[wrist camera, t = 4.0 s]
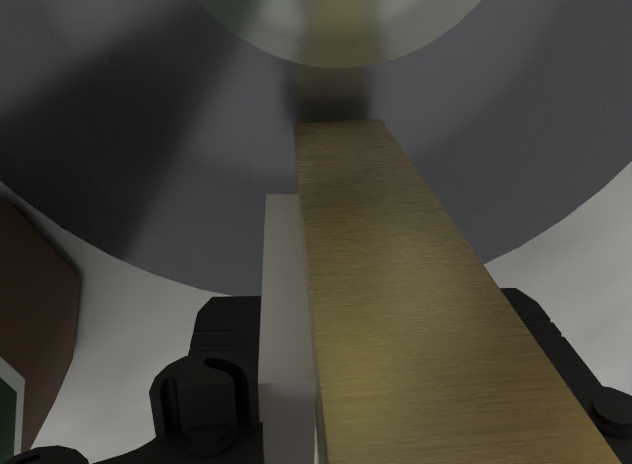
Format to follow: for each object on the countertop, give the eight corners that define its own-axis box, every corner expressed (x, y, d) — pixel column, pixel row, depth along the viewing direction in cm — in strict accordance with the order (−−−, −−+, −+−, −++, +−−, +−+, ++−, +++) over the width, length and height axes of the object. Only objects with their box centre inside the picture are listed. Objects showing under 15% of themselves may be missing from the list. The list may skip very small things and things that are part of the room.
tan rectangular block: (292, 124, 13) (332, 495, 4) (381, 118, 13) (626, 471, 4) (304, 312, 16) (345, 820, 6) (378, 307, 16) (527, 798, 6)
